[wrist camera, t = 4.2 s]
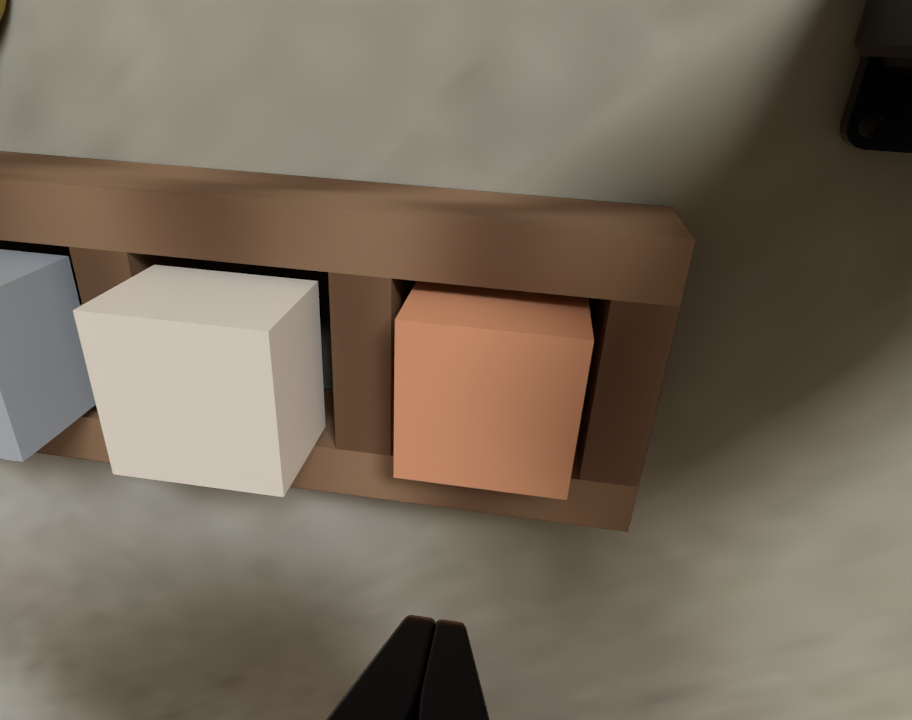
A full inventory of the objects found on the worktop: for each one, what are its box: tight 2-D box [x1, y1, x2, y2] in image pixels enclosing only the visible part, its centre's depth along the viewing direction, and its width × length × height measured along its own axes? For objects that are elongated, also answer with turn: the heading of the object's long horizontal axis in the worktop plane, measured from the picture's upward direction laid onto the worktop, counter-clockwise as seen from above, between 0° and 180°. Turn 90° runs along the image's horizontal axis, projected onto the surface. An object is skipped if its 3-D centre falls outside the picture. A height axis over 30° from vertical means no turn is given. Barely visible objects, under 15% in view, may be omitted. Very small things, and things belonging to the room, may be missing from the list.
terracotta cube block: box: [393, 281, 594, 500], centre depth 15 cm, size 4×4×3 cm
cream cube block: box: [73, 265, 326, 497], centre depth 15 cm, size 4×4×3 cm
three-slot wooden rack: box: [0, 151, 696, 532], centre depth 17 cm, size 21×8×3 cm, turn 87°
